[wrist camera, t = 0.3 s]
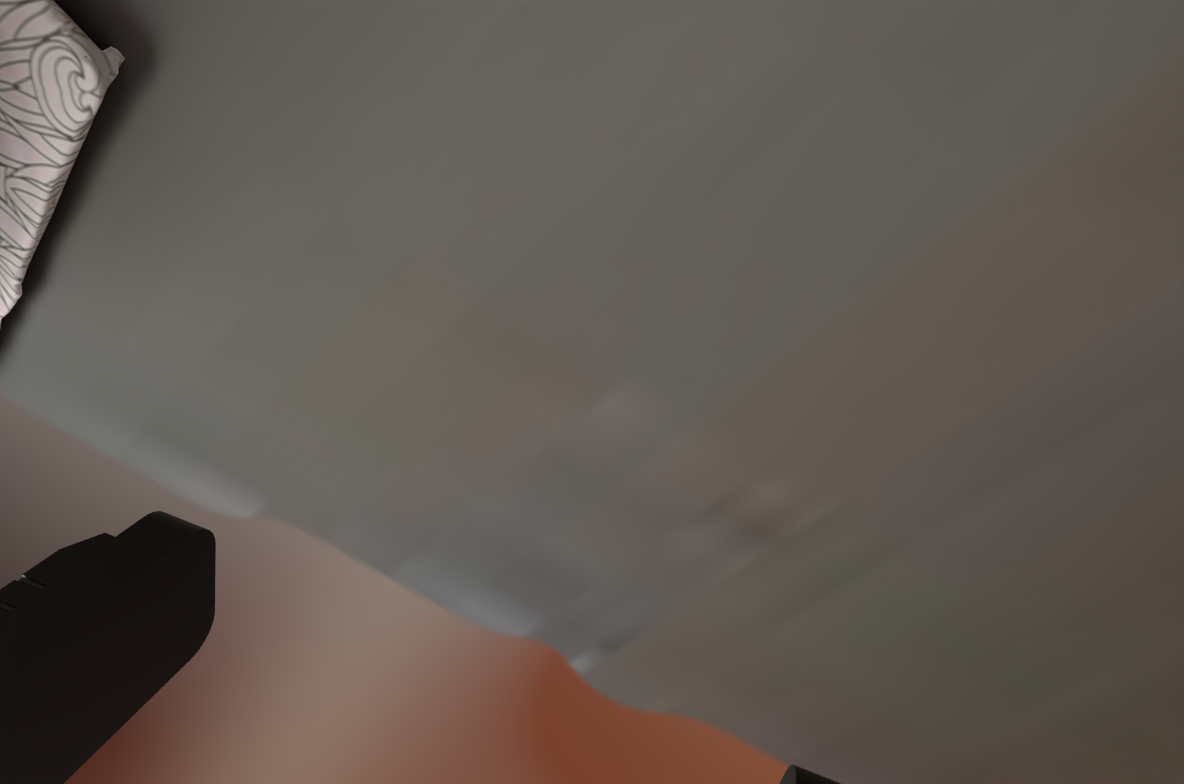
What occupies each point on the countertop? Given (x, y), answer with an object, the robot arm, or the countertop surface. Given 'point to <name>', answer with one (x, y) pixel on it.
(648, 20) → the countertop surface
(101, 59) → the brown stone tower
